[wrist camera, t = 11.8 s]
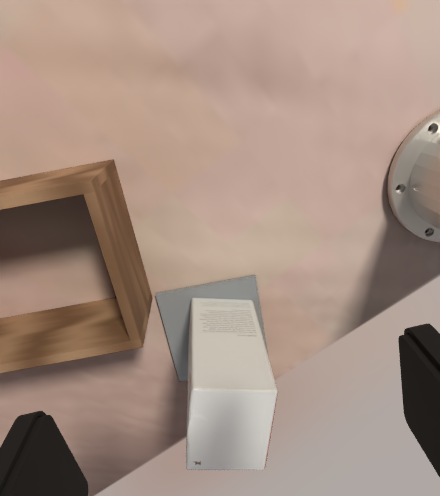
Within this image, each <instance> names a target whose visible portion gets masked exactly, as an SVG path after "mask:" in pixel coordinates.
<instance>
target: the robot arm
mask: <svg viewBox="0 0 440 496" xmlns="http://www.w3.org/2000/svg"><path fill="white" fill-rule="evenodd" d="M429 126H430V128H429V130H428V127H429ZM397 186H398V188H397V189H396V187H397ZM387 191H388V198H389V203H390V206H391V208H392V211H393V214H394V215H395V217H396V218H397V219H398V221H399V222H400V223H401V224H402V225H403V226H404V227H405V228H406V229H407V230H409V231H410V232H412V233H413V234H415V235H416V236H418V237H420V238H423V239H425V240H429V241H434V242H440V110H439V111H437V112H435V113H434V114H432V115H430V116H429V117H427V118H426V119H424V120H423V121H422V122H421V123H420V124H418V125H417V126H416V127H415V128H414V129H413V130H412V131H411V132H410V133H409V135H408V136H407V137H406V138H405V139H404V141H403V142H402V144H401V146H400V147H399V149H398V150H397V152H396V154H395V157H394V159H393V162H392V164H391V167H390V172H389V176H388V190H387ZM399 352H400V366H401V380H402V393H403V406H404V414H405V418H406V421H407V424H408V426H409V428H410V429H411V431H412V432H413V434H414V436H415V437H416V439H417V441H418V442H419V444H420V446H421V447H422V449H423V451H424V452H425V454H426V456H427V457H428V459H429V461H430V462H431V464H432V465H433V467H434V469H435V470H436V472H437V474H438V475H439V477H440V334H439V333H438V332H437V330H436V329H435V328H434V327H433V326H431V325H430V324H424V325H419V326H415V327H411V328H407V329H405V331H404V335H402V336H399ZM0 496H88V484H87V481H86V479H85V477H84V475H83V473H82V471H81V469H80V467H79V466H78V464H77V462H76V460H75V458H74V456H73V455H72V453H71V451H70V449H69V447H68V445H67V444H66V442H65V440H64V438H63V436H62V434H61V433H60V431H59V429H58V427H57V425H56V423H55V421H54V420H53V418H52V417H51V416H50V415H46V414H45V413H44V412H43V411H38V412H34V413H29V414H25V415H20V416H19V417H17V419H16V420H15V422H14V423H13V425H12V427H11V429H10V431H9V433H8V435H7V436H6V438H5V440H4V442H3V444H2V446H1V447H0Z"/></svg>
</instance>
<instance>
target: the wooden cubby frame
mask: <svg viewBox="0 0 440 496" xmlns="http://www.w3.org/2000/svg"><path fill="white" fill-rule="evenodd" d="M82 194H83V195H84V198H85V201H86V204H87V207H88V210H89V213H90V216H91V220H92V223H93V226H94V229H95V232H96V235H97V238H98V241H99V244H100V248H101V251H102V254H103V257H104V260H105V263H106V266H107V269H108V273H109V276H110V279H111V282H112V285H113V288H114V291H115V294H116V298H111V299H105V300H100V301H94V302H89V303H83V304H78V305H72V306H67V307H62V308H56V309H51V310H45V311H40V312H34V313H29V314H23V315H18V316H12V317H7V318H1V319H0V373H3V372H9V371H14V370H20V369H25V368H31V367H37V366H42V365H48V364H53V363H59V362H64V361H70V360H75V359H81V358H86V357H92V356H97V355H103V354H108V353H114V352H119V351H125V350H130V349H136V348H141V347H143V343H144V338H145V333H146V328H147V323H148V318H149V313H150V308H151V303H152V295H151V291H150V288H149V284H148V281H147V277H146V273H145V270H144V266H143V263H142V259H141V255H140V252H139V248H138V245H137V241H136V238H135V234H134V230H133V227H132V223H131V220H130V216H129V213H128V209H127V205H126V202H125V198H124V195H123V191H122V187H121V184H120V180H119V177H118V173H117V170H116V166H115V162H114V160H108V161H103V162H98V163H92V164H87V165H82V166H76V167H71V168H66V169H61V170H55V171H50V172H45V173H39V174H34V175H29V176H23V177H18V178H13V179H8V180H2V181H0V210H1V209H7V208H12V207H17V206H23V205H28V204H33V203H39V202H44V201H49V200H55V199H60V198H66V197H71V196H76V195H82Z"/></svg>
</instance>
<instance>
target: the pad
mask: <svg viewBox="0 0 440 496" xmlns="http://www.w3.org/2000/svg"><path fill="white" fill-rule="evenodd" d="M156 298H157V302H158V306H159V309H160V313H161V317H162V320H163V324H164V328H165V331H166V335H167V338H168V342H169V346H170V349H171V353H172V357H173V360H174V364H175V368H176V371H177V375H178V378H179V382H181V381H187V380H188V345H189V327H190V312H191V300H192V298H214V299H237V300H252V301H253V303H254V307H255V311H256V314H257V318H258V322H259V325H260V329H261V333H262V336H263V340H264V344H265V347H266V351H267V346H266V340H265V333H264V327H263V321H262V314H261V308H260V302H259V295H258V289H257V282H256V277H255V275H251V276H246V277H240V278H235V279H229V280H224V281H218V282H213V283H208V284H202V285H197V286H191V287H186V288H180V289H175V290H169V291H164V292H158V293H156ZM267 354H268V352H267Z"/></svg>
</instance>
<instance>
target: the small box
mask: <svg viewBox="0 0 440 496" xmlns="http://www.w3.org/2000/svg"><path fill="white" fill-rule="evenodd" d="M277 394H278V390H277V387H276V383H275V380H274V376H273V372H272V369H271V365H270V362H269V358H268V354H267V351H266V347H265V344H264V340H263V336H262V333H261V329H260V325H259V322H258V318H257V314H256V311H255V307H254V303H253V301H252V300H237V299H214V298H192V300H191V312H190V327H189V345H188V401H187V446H186V468H187V469H191V470H192V469H193V470H257V469H259V470H261V469H262V470H263V469H265V466H266V461H267V455H268V448H269V442H270V437H271V430H272V424H273V419H274V413H275V406H276V400H277Z"/></svg>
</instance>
